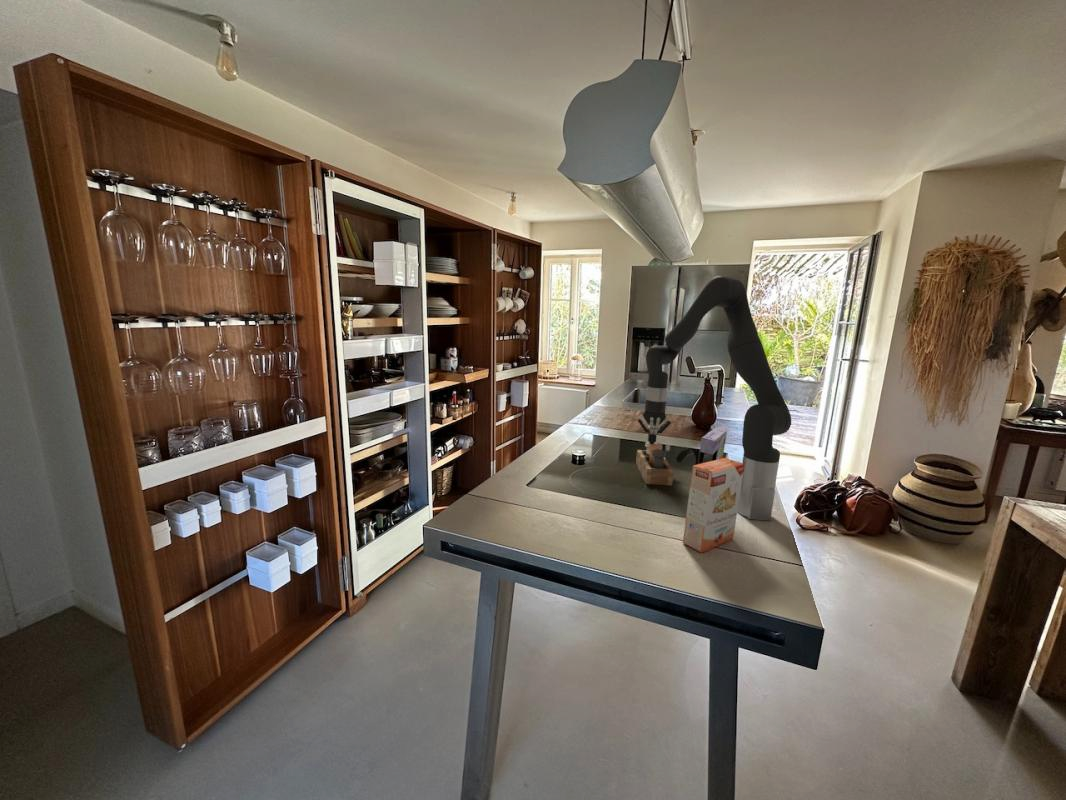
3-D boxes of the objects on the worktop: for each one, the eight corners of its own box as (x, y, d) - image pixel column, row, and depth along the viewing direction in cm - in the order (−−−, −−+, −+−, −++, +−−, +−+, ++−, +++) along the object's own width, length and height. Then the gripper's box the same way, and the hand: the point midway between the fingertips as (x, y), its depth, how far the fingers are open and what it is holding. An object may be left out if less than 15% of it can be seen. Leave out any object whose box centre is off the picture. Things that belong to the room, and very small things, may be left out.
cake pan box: (707, 490, 142) (714, 439, 138) (692, 486, 144) (698, 436, 141) (721, 475, 157) (727, 429, 154) (707, 472, 160) (713, 427, 156)
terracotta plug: (661, 467, 152) (663, 448, 151) (648, 466, 152) (650, 447, 151) (658, 463, 157) (660, 444, 155) (646, 462, 157) (648, 443, 156)
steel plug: (657, 464, 159) (659, 445, 158) (644, 463, 159) (646, 444, 158) (654, 460, 164) (656, 442, 162) (642, 459, 164) (644, 441, 163)
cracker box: (702, 554, 100) (713, 472, 97) (681, 543, 105) (690, 464, 101) (735, 540, 108) (746, 463, 104) (714, 530, 113) (723, 456, 109)
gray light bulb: (665, 474, 145) (667, 453, 144) (651, 473, 146) (653, 453, 144) (662, 469, 150) (664, 450, 148) (649, 468, 150) (651, 449, 149)
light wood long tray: (672, 485, 144) (673, 470, 143) (645, 483, 145) (646, 468, 144) (659, 464, 166) (660, 451, 165) (636, 463, 166) (637, 449, 165)
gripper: (639, 399, 154) (635, 444, 157) (676, 401, 153) (671, 447, 156) (636, 396, 161) (632, 439, 164) (671, 398, 160) (667, 441, 163)
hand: (651, 443), depth 160 cm, fingers closed
